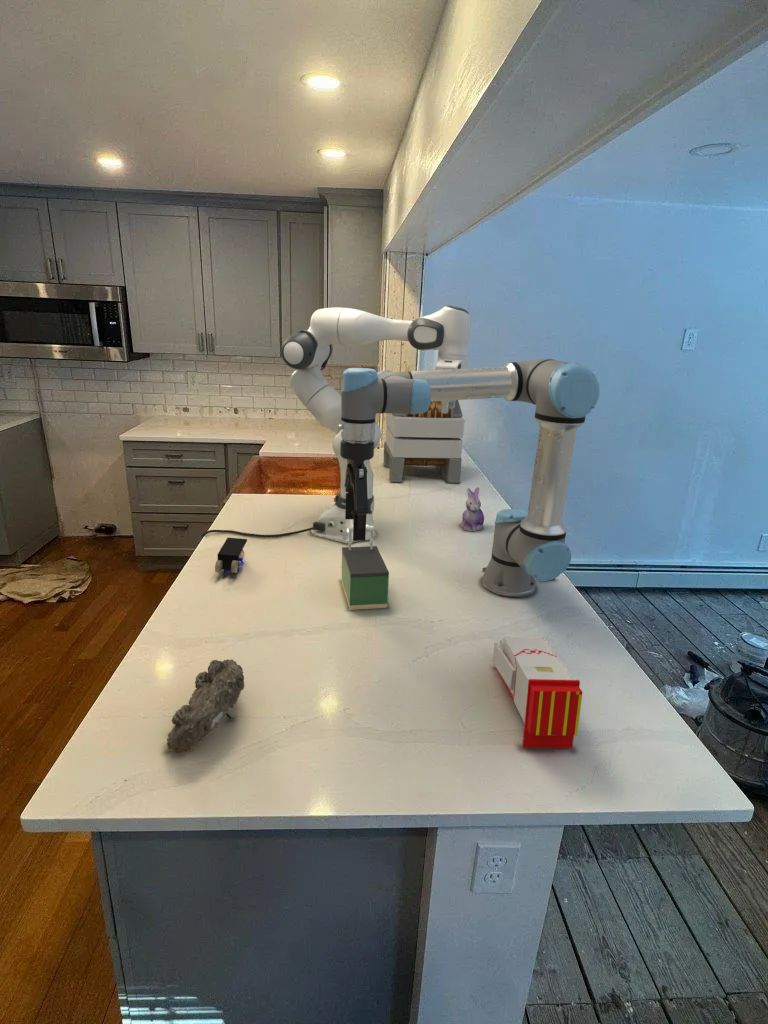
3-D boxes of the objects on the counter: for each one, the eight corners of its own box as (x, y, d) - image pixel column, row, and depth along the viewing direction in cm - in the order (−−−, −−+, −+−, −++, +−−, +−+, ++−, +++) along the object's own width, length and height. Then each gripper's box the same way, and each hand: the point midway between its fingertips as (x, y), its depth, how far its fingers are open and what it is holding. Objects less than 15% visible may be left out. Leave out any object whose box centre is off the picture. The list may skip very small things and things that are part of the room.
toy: (540, 620, 128) (592, 687, 99) (535, 674, 131) (584, 755, 102) (487, 619, 128) (523, 686, 99) (483, 673, 131) (517, 754, 101)
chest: (341, 580, 164) (342, 551, 161) (375, 579, 166) (376, 549, 163) (349, 609, 148) (350, 577, 145) (387, 607, 150) (388, 575, 147)
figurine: (470, 533, 202) (474, 493, 197) (453, 524, 211) (457, 485, 206) (491, 530, 207) (495, 491, 202) (474, 520, 215) (478, 483, 210)
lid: (341, 550, 161) (342, 523, 158) (376, 549, 163) (377, 522, 160) (350, 577, 145) (351, 548, 142) (388, 575, 147) (390, 547, 144)
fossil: (192, 660, 117) (244, 628, 112) (224, 691, 120) (276, 661, 115) (142, 746, 98) (202, 712, 93) (182, 779, 101) (242, 748, 96)
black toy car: (238, 584, 162) (249, 557, 175) (236, 562, 158) (247, 536, 172) (215, 584, 161) (227, 556, 175) (212, 561, 158) (225, 535, 171)
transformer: (382, 463, 289) (386, 382, 275) (445, 464, 293) (451, 384, 279) (390, 482, 257) (394, 392, 243) (460, 483, 261) (468, 394, 247)
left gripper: (449, 360, 179) (445, 404, 183) (434, 366, 160) (430, 414, 165) (468, 362, 177) (464, 406, 182) (455, 367, 158) (451, 417, 163)
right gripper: (334, 428, 136) (333, 511, 144) (348, 453, 113) (345, 551, 121) (365, 428, 138) (362, 510, 145) (384, 453, 115) (380, 549, 122)
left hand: (448, 410), depth 173 cm, fingers open, 8 cm apart
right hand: (354, 529), depth 133 cm, fingers open, 13 cm apart
